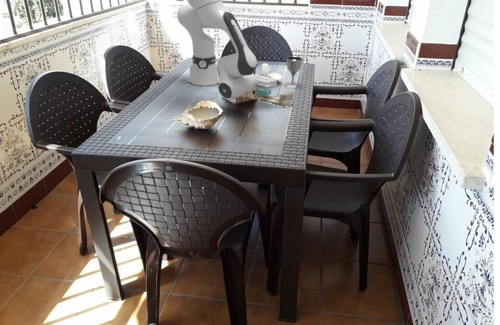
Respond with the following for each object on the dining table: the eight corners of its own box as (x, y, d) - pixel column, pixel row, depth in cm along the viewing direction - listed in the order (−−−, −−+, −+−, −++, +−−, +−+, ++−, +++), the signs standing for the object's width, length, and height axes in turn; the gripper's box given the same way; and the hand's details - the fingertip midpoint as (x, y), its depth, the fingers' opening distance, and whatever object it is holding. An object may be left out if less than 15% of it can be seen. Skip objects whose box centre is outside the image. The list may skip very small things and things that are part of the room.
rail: (246, 97, 197) (246, 85, 194) (255, 94, 202) (255, 82, 199) (284, 108, 185) (285, 95, 182) (292, 104, 190) (293, 92, 187)
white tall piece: (256, 94, 194) (257, 64, 187) (262, 92, 197) (264, 62, 190) (264, 96, 191) (266, 66, 184) (271, 94, 194) (272, 64, 188)
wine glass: (285, 88, 212) (287, 59, 205) (284, 84, 219) (286, 56, 212) (300, 88, 212) (303, 60, 205) (298, 84, 219) (301, 56, 212)
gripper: (266, 80, 174) (284, 74, 184) (230, 71, 185) (249, 66, 195) (266, 94, 177) (283, 87, 187) (230, 85, 188) (248, 78, 198)
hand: (265, 76), depth 191 cm, fingers closed on white tall piece, 3 cm apart
